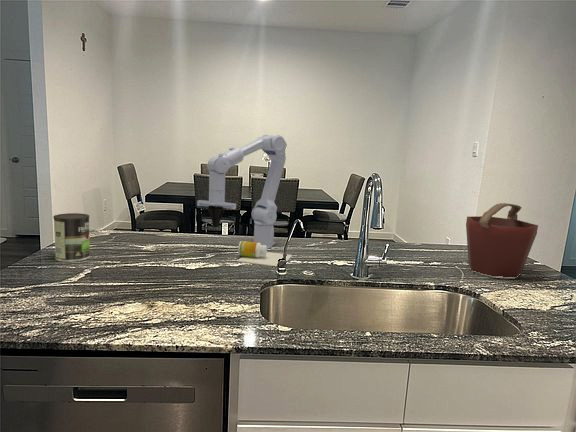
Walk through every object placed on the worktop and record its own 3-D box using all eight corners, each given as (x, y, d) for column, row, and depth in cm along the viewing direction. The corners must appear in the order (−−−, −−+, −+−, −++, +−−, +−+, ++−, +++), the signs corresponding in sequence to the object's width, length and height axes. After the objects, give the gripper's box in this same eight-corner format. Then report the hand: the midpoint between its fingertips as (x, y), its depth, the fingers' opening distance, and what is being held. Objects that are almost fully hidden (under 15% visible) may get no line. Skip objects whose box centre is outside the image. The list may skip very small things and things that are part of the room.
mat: (251, 251, 158) (252, 250, 158) (292, 256, 154) (292, 255, 154) (236, 261, 143) (236, 260, 143) (281, 267, 139) (281, 266, 139)
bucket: (494, 262, 163) (503, 199, 158) (548, 280, 143) (560, 208, 138) (446, 266, 153) (454, 199, 149) (496, 285, 133) (507, 209, 129)
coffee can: (95, 254, 141) (95, 214, 139) (80, 263, 131) (79, 219, 129) (66, 252, 141) (64, 212, 139) (48, 261, 131) (46, 217, 129)
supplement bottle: (236, 253, 145) (263, 256, 144) (239, 238, 147) (266, 241, 146) (240, 257, 150) (266, 260, 149) (242, 243, 152) (268, 245, 151)
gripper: (193, 189, 148) (192, 226, 150) (231, 192, 145) (230, 230, 147) (202, 187, 155) (201, 223, 157) (238, 191, 151) (237, 227, 154)
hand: (215, 226), depth 153 cm, fingers closed
